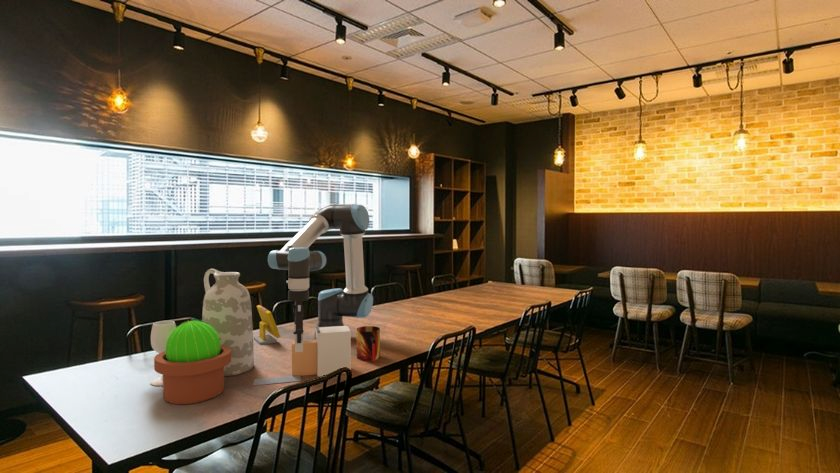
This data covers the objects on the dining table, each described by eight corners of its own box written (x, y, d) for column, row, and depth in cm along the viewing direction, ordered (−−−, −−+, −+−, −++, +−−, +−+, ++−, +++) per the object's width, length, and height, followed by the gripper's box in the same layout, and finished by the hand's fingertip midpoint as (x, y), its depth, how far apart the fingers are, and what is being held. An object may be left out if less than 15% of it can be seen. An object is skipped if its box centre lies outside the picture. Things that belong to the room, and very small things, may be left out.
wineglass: (158, 377, 162) (157, 319, 161) (183, 377, 163) (182, 319, 162) (145, 386, 154) (144, 325, 153) (172, 385, 154) (171, 325, 153)
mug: (373, 364, 178) (373, 334, 178) (351, 357, 188) (351, 328, 187) (391, 359, 185) (391, 330, 185) (369, 352, 195) (369, 324, 194)
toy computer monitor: (280, 344, 205) (280, 310, 205) (262, 347, 201) (262, 312, 200) (268, 334, 222) (267, 303, 221) (251, 337, 218) (251, 304, 217)
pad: (254, 379, 161) (254, 379, 161) (300, 375, 165) (300, 374, 165) (253, 385, 155) (253, 385, 155) (301, 381, 160) (301, 380, 160)
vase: (264, 364, 178) (263, 268, 176) (230, 380, 160) (228, 273, 159) (223, 358, 184) (222, 265, 183) (186, 373, 167) (184, 271, 165)
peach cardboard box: (291, 373, 167) (291, 341, 167) (330, 370, 172) (330, 339, 171) (292, 376, 165) (291, 344, 164) (330, 372, 169) (330, 341, 168)
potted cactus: (180, 414, 132) (179, 330, 131) (141, 398, 144) (140, 320, 143) (244, 390, 151) (244, 316, 150) (205, 377, 163) (204, 309, 161)
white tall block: (316, 368, 173) (316, 326, 172) (347, 366, 176) (347, 324, 176) (317, 376, 164) (317, 331, 164) (350, 373, 168) (350, 329, 167)
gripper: (287, 285, 176) (287, 338, 177) (288, 294, 152) (288, 356, 153) (307, 284, 178) (307, 337, 179) (311, 294, 155) (310, 355, 155)
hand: (298, 346), depth 166 cm, fingers open, 13 cm apart
